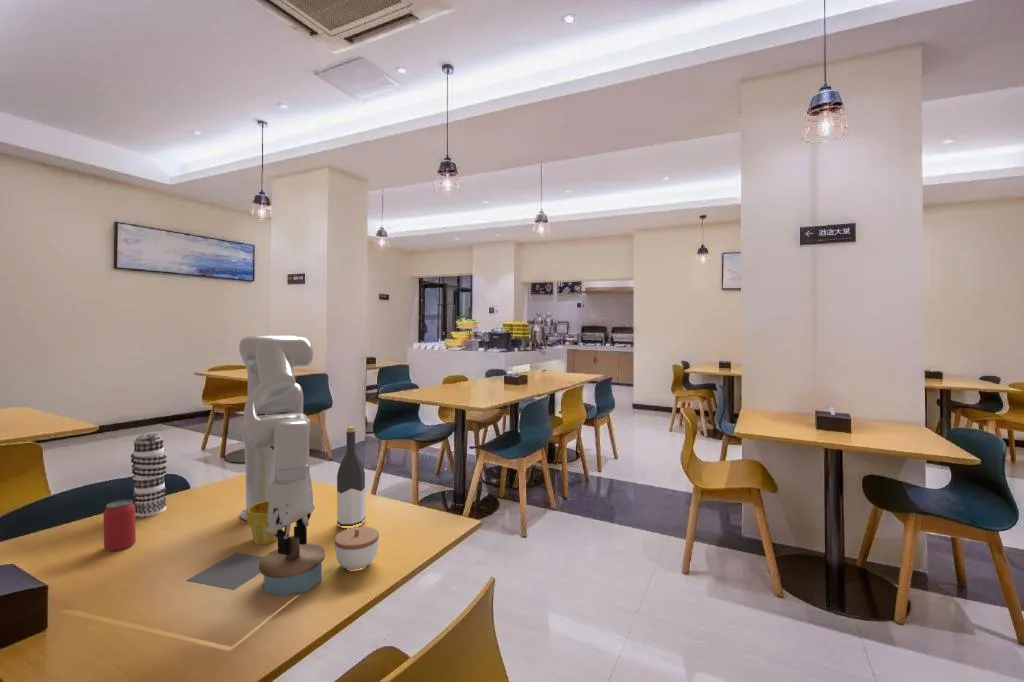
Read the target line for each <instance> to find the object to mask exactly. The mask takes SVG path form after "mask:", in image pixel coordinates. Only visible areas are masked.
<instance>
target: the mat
mask: <svg viewBox="0 0 1024 682" xmlns="http://www.w3.org/2000/svg"><path fill="white" fill-rule="evenodd" d="M263 557H264V556H262V555H261V556H260V555H254V554H249V553H242V552H234V553H231V554H230V555H228V556H226V557H224V558H223V559H221V560H219V561H217V562H216V563H214V564H213V565H211V566H209V567H206V568H205V569H204V570H202V571H200V572H198V573H197V574H195V575H193V576H191V577H189V578H188V579H186V581H187V582H191V583H197V584H202V585H208V586H211V587H219V588H222V589H228V590H233V591H235V590H236V589H238V588H240V587H241V586H242V585H243V584H246V583H247V582H248V581H250V580H252V578H255V577H256V576H257V575H259V574H262V573H261V572H260V571H259V562H260V560H261V559H262V558H263Z"/></svg>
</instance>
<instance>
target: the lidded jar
mask: <svg viewBox="0 0 1024 682" xmlns="http://www.w3.org/2000/svg"><path fill="white" fill-rule="evenodd" d="M379 539H380V532H379V531H378V529H376V528H374V527H372V526H371V527H370V526H360V527H354V528H349V529H343V530H342V531H340V532H339V533H337V534H336V536H334V551H335V556H336V557H335V558H336V560H337V562H338V564H339V565H340V566H341V567H342V568H344V569H345V568H346V569H349V570H355V569H360V568H364V567H366V566H367V565H369V566H370V564H371V563H372V562H373V561H374V560H375V557H376V555H377V553H378V548H379Z"/></svg>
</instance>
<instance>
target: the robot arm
mask: <svg viewBox="0 0 1024 682" xmlns="http://www.w3.org/2000/svg"><path fill="white" fill-rule="evenodd" d="M238 347H239V348H238V349H239V354H240V357H241V360H242V362H243V364H244V366H245V368H246V371H247V400H246V402H245V405H244V408H243V421H244V422H243V423H242V424H241V425H242V426H241V436H242V441H243V448H244V459H245V460H244V462H245V508H244V509H242V510H241V511H240V518H241V519H242V520H245V521H247V509H248V508H249V507H250V506H252V505H253V504H256V503H259V502H263V501H268V500H269V504H268V523H269V527H268V529H267V532H268V533H271V534H273V535H275V537H276V538H278V540H277V549H278V553H279V554H284V555H290V554H291V536H290V533H291V532H290V531H291V526H292V524H294V523H295V526H294V527H293V536H299V537H300V544H302V545H305V544H306V543H307V542H308V537H307V536H308V535H307V533H308V532H307V531H308V530H307V529H308V528H307V527H309V520H310V519H311V517H312V516H311V515H312V513H313V512H314V510H315V508H316V506H315V504H314V503H313V502H314V494H313V492H314V491H313V484H312V478H311V473H310V434H311V420H310V418H308V416H307V415H306V414H304V392H303V388H302V386H301V385H300V384H299V383H298V382H296V377H295V372H294V367H308V366H310V364H311V363H312V361H313V357H314V350H313V347H312V344H311V341H310V340H309V339H308V338H307V337H305V336H300V335H250V336H246V337H243V338H242V339H241V340H240V341H239V345H238ZM276 413H278V414H276ZM258 414H259V415H258ZM263 414H264V415H263ZM271 447H273V448H271ZM282 527H283V528H284V530H282Z"/></svg>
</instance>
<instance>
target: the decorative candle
mask: <svg viewBox="0 0 1024 682" xmlns="http://www.w3.org/2000/svg"><path fill="white" fill-rule="evenodd" d="M164 440H165V437H163V436H162V435H161V434H159V433H146V434H142V435H139V436H138V437H136V439H135V440H133V441H132V443H133V453H131V454H130V463H131V464H132V465H131V469H132V470H131V474H132V480H134V487H133V489H134V491H133V493H132V496H133V499H132V501H134V502H132V503H133V505H134V507H135V517H136V516H139V518H142V517H143V518H144V516H146V517H150V516H151V515H152V516H155V514H156V515H158V513H159V514H161V513H163V512H165V511H166V510H167V502H166V501H167V497H166V495H167V492H166V490H167V487H166V486H165V475H166V474H167V471H166V470H165V469H167V466H166V465H164V464H166V463H167V462H168V461H167V460H166V459H167V457H168V456H167V455H166V454H164V453H165V451H166V449H165V446H164ZM164 510H165V511H164ZM160 512H161V513H160Z"/></svg>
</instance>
